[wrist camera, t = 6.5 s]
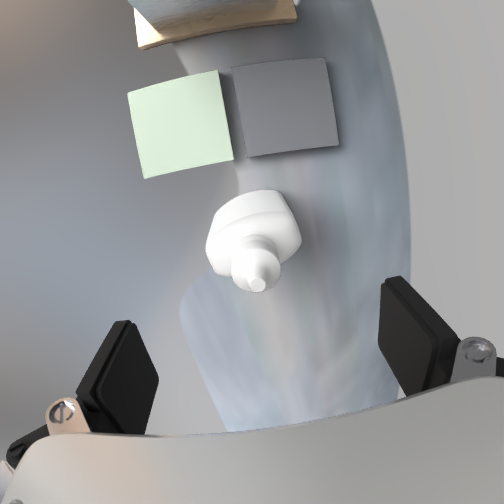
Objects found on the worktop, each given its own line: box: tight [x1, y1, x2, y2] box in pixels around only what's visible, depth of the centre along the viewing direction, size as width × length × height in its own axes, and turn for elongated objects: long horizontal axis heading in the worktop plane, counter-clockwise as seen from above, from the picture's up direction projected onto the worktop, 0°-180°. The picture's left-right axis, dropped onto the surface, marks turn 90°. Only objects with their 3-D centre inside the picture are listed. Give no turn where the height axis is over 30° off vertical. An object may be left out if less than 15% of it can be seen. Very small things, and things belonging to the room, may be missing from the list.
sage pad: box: [128, 70, 234, 179], centre depth 21 cm, size 7×7×1 cm
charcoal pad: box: [231, 58, 339, 157], centre depth 21 cm, size 7×7×1 cm
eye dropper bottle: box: [206, 190, 302, 293], centre depth 19 cm, size 4×6×12 cm
